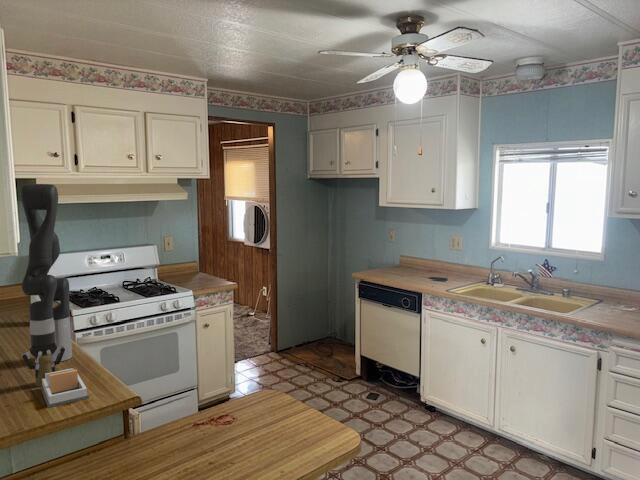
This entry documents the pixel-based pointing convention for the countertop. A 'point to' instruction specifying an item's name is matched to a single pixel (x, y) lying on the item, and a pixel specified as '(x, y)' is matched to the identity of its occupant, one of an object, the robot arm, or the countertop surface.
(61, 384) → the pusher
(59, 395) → the white walled tray
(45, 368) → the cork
